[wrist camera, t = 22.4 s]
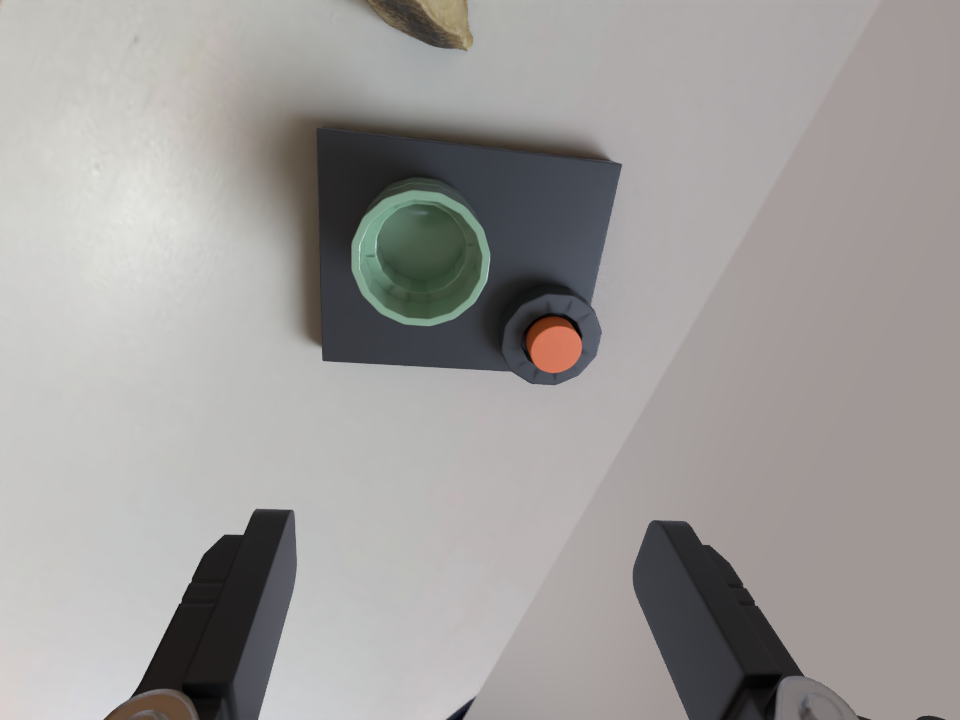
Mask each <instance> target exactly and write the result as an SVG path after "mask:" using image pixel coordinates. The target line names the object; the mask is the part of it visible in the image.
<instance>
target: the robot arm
mask: <svg viewBox="0 0 960 720" xmlns="http://www.w3.org/2000/svg"><path fill="white" fill-rule="evenodd" d="M296 567H297V556H296V535H295V516H294V511H293V510H278V509H256V510H255V511H254V512H253V514H252V516H251V518H250V521H249V523H248V526H247V528H246V530H245V533H244V535H224V536H223V537H222V538H221V539H219V540H218V541H217V542H216V543H215V544H214V545H213V546H212V547H211V548H210V549H209V550H208V551H207V552H206V553H205V554H204V555H203V557H202V559H201V561H200V563H199V565H198V567H197V569H196V571H195V573H194V575H193V577H192V582H191V583H189V585H188V587H187V589H186V591H185V593H184V596H183V598H182V602H181V604H179V606H178V608H177V610H176V612H175V614H174V616H173V618H172V620H171V622H170V624H169V626H168V628H167V630H166V632H165V634H164V636H163V638H162V640H161V642H160V644H159V646H158V648H157V650H156V652H155V654H154V656H153V658H152V660H151V662H150V664H149V666H148V668H147V670H146V672H145V675H144V677H143V679H142V681H141V682H140V684H139V686H138V688H137V689H136V691H135V692H134V694H133V695H132V696H131V698H130V699H129V700H127V701H126V702H124V703H123V704H121V705H120V706H118V707H117V708H116V709H114V710H113V711H112V712H111V713H110V714H109V715H108V716H107V717H106V718H105V719H104V720H258V717H259V714H260V710H261V706H262V703H263V699H264V695H265V692H266V688H267V684H268V681H269V677H270V673H271V670H272V666H273V662H274V659H275V655H276V651H277V648H278V644H279V640H280V637H281V633H282V629H283V626H284V622H285V618H286V615H287V611H288V608H289V604H290V600H291V597H292V593H293V589H294V583H295V577H296ZM633 585H634V590H635V593H636V596H637V598H638V601H639V603H640V606H641V608H642V610H643V613H644V615H645V617H646V620H647V622H648V624H649V626H650V629H651V631H652V634H653V636H654V638H655V640H656V643H657V645H658V648H659V650H660V652H661V655H662V657H663V659H664V661H665V664H666V666H667V668H668V671H669V673H670V675H671V678H672V680H673V683H674V685H675V687H676V690H677V692H678V694H679V697H680V699H681V701H682V704H683V706H684V708H685V711H686V713H687V715H688V718H689V720H870V719H867V718H864V717H860V716H858V715H856V714H855V712H854V711H853V710H852V709H851V708H850V706H849V705H848V704H847V703H846V702H845V701H844V700H843V699H842V698H841V697H840V696H838V695H837V694H836V693H835V692H834V691H832V690H831V689H830V688H828V687H826V686H825V685H823V684H821V683H820V682H817V681H815V680H813V679H810V678H807V677H805V676H804V675H803V673H802V672H801V671H800V669H799V668H798V666H797V665H796V663H795V662H794V660H793V659H792V657H791V656H790V654H789V653H788V651H787V649H786V648H785V646H784V645H783V644H782V642H781V640H780V639H779V637H778V636H777V634H776V633H775V631H774V630H773V628H772V627H771V625H770V624H769V622H768V621H767V619H766V618H765V616H764V615H763V613H762V612H761V610H760V609H759V607H758V606H755V603H754V602H755V601H754V600H753V598H752V597H751V595H750V594H749V592H748V591H747V589H746V588H744V587H743V583H742V581H741V580H740V579H739V577H738V575H737V574H736V572H735V571H734V569H733V568H732V566H731V565H730V563H729V562H727V561H726V560H725V559H724V558H723V557H722V556H721V555H720V554H719V553H718V552H716V551H715V550H714V549H713V548H712V547H711V546H710V545H702V543H701V542H700V540H699V538H698V537H697V536H696V534H695V532H694V531H693V529H692V527H691V526H690V525H689V524H688V523H687V522H684V521H658V520H657V521H656V520H654V521H652V522H651V523H650V524H649V526H648V528H647V531H646V534H645V536H644V539H643V542H642V545H641V548H640V550H639V553H638V556H637V559H636V561H635V564H634V568H633ZM917 720H945V719H941V718H938V717H934V716H922V717H920V718H918V719H917Z"/></svg>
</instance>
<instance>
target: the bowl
mask: <svg viewBox="0 0 960 720" xmlns="http://www.w3.org/2000/svg"><path fill="white" fill-rule="evenodd" d="M489 264H490V251H489V247H488V244H487V240H486V236H485V233H484V230H483V227H482V225H481V223H480V221H479V219H478V217H477V215H476V213H475V211H474V209H473V208H472V207H471V205H470V204H469V203H468V202H467V200H466V199H465V198H464V197H463V195H462V194H461V193H460V192H459V191H457V190H456V189H454V188H452V187H450V186H448V185H447V184H445V183H443V182H441V181H439V180H437V179H428V178H419V177H411V178H408V179H405V180H402V181H399V182H396V183H392V184H390V185H388V186H387V187H386V188H385V189H384V190H383V191H382V192H381V193H380V194H378V195H377V196H376V197H375V198H374V199H373V200H372V201H371V203H370V205H369V207H368V208H367V210H366V212H365V214H364V216H363V218H362V220H361V222H360V224H359V227H358V229H357V231H356V233H355V236H354V238H353V240H352V243H351V269H352V273H353V275H354V277H355V280H356V282H357V285H358V287H359V289H360V292H361V294H362V295H363V296H364V297H365V298H366V299H367V300H368V301H369V303H370V304H371V305H372V306H373V307H374V308H375V309H376V310H377V311H378V312H379V313H381V314H382V315H385V316H387V317H389V318H391V319H393V320H396V321H398V322H400V323H402V324H405V325H419V326H433V325H436V324H439V323H443V322H446V321H449V320H452V319H454V318H456V317H458V316H459V315H460V314H461V313H463V312H464V311H465V310H466V309H468V308H469V307H470V306H472V305H473V304H474V303H475V302H476V300H477V298H478V296H479V295H480V293H481V291H482V289H483V288H484V286H485V284H486V282H487V280H488V272H489Z"/></svg>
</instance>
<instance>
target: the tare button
mask: <svg viewBox="0 0 960 720" xmlns="http://www.w3.org/2000/svg"><path fill="white" fill-rule="evenodd" d="M526 347H527V349H528V352H529V354H530V357H531V359H532V361H533V363H534V364H535V365H536V366H537V367H538V368H539V369H541V370H542V371H545V372H549V373H558V372H562V371H565V370H567V369H569V368H570V367H571V366H573V365H574V364H575V363H576V361H577V360H578V358H579V357H580V354H581V350H582V342H581V339H580V337H579V335H578V334H577V332H576V331H575V329H574V328H573V326H572V325H571V324H570V322H568V321H567V320H566V319H564V318H562V317H558V316H548V317H545V318H542V319H540V320H538V321H537V322H535V323H534V324H533V325H532V326H531V328H530V329H529V331H528V333H527V336H526Z"/></svg>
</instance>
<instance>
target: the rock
mask: <svg viewBox="0 0 960 720" xmlns="http://www.w3.org/2000/svg"><path fill="white" fill-rule="evenodd" d="M367 1H368V2H369V3H370V4H371V6H372V7H373V8H374V10H375V12H376V13H377V14H378V15H379V16H381V17H382V18H383V19H384V21H385V22H387V23H388V24H389V25H391V26H393V27H394V28H396V29H398V30H400V31H402V32H404V33H406V34H408V35H410V36H412V37H414V38H416V39H418V40H421V41H423V42H425V43H427V44H429V45H432V46H435V47H440V48H450V49H453V48H457V49H463V50H465V51H468V50H469V48H470V47H471V46H472V44H473V37H472V35H471V33H470V30H469V26H468V9H467V0H367Z"/></svg>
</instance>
